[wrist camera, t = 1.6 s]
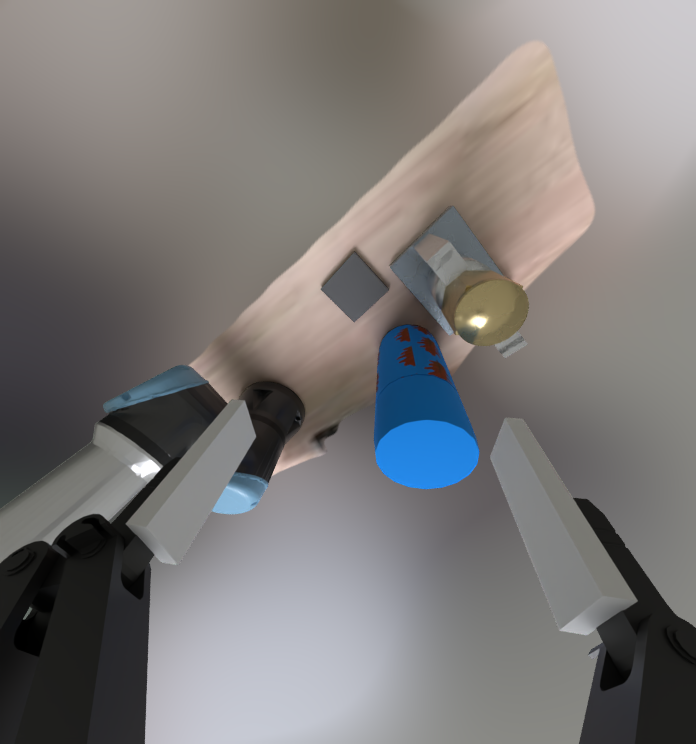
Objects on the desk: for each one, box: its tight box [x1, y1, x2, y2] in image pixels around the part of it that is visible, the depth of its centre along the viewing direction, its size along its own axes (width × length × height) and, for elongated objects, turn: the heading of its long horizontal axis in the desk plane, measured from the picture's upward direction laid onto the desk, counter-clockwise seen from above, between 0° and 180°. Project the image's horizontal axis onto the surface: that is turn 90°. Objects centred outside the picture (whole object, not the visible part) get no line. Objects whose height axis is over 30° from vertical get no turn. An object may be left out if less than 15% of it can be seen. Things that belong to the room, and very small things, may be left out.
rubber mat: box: [321, 252, 389, 322], centre depth 43 cm, size 8×8×1 cm
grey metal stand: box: [390, 206, 527, 358], centre depth 34 cm, size 11×15×16 cm
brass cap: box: [441, 270, 529, 346], centre depth 28 cm, size 11×7×9 cm, turn 46°
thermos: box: [374, 325, 479, 489], centre depth 37 cm, size 11×11×25 cm
